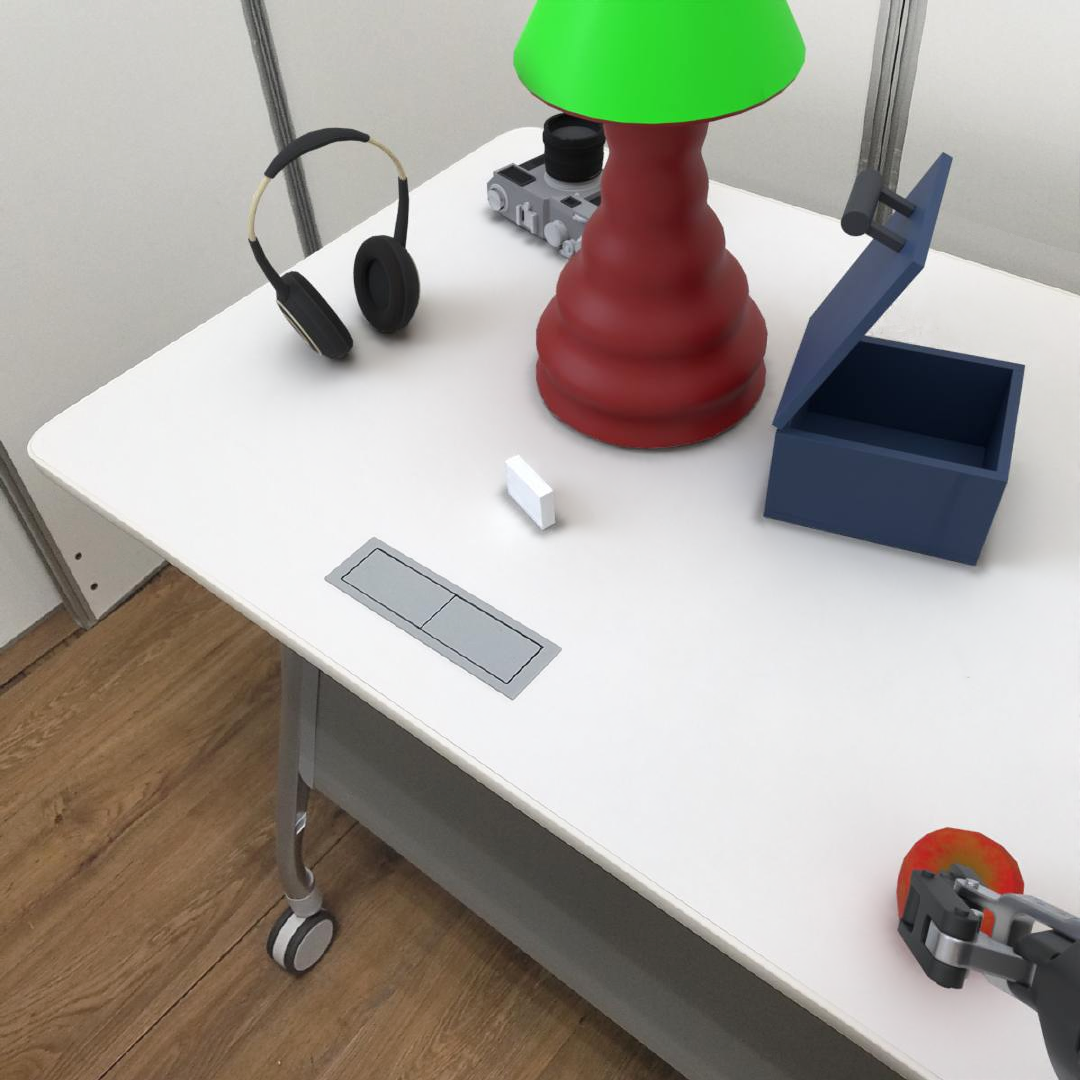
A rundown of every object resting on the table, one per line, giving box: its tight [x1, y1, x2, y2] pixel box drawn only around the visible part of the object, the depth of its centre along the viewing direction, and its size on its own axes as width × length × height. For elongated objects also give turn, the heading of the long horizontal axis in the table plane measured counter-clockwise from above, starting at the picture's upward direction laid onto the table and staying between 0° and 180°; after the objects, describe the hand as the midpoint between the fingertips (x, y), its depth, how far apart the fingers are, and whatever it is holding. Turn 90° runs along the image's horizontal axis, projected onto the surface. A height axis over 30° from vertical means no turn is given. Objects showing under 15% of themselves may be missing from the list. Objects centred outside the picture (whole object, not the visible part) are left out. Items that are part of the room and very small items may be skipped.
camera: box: [486, 112, 607, 260], centre depth 107 cm, size 18×10×10 cm
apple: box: [895, 826, 1025, 937], centre depth 60 cm, size 6×6×8 cm
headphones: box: [247, 127, 421, 359], centre depth 93 cm, size 9×15×20 cm, turn 125°
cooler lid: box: [771, 151, 954, 430], centre depth 74 cm, size 16×13×5 cm
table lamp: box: [512, 0, 807, 450], centre depth 78 cm, size 20×20×45 cm
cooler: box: [763, 334, 1026, 567], centre depth 82 cm, size 16×13×9 cm
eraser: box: [504, 454, 556, 531], centre depth 84 cm, size 1×5×4 cm, turn 34°
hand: (1056, 917), depth 46 cm, fingers open, 8 cm apart
